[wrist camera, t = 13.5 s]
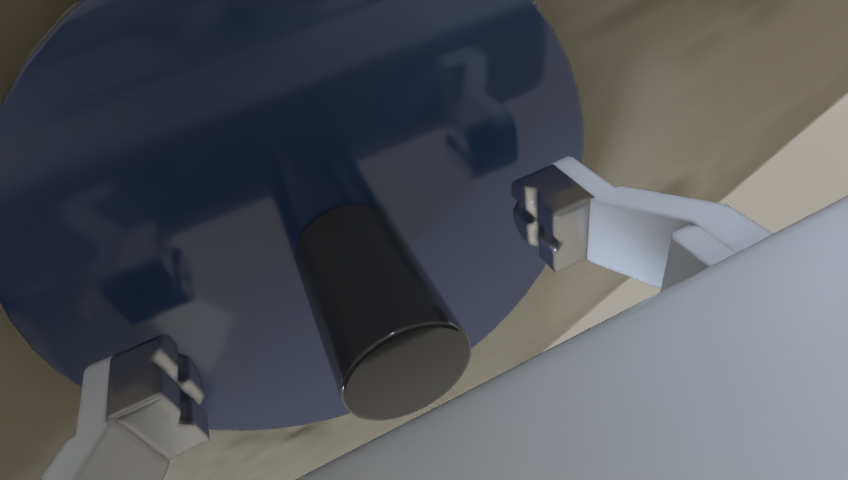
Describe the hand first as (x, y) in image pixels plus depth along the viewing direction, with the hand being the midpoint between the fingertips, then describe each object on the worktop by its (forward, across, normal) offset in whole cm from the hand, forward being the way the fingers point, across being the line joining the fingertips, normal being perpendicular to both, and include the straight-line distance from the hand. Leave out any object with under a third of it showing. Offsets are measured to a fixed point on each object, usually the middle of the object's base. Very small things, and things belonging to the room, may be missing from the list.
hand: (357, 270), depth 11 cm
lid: (+2, 0, 0) cm, 2 cm away
